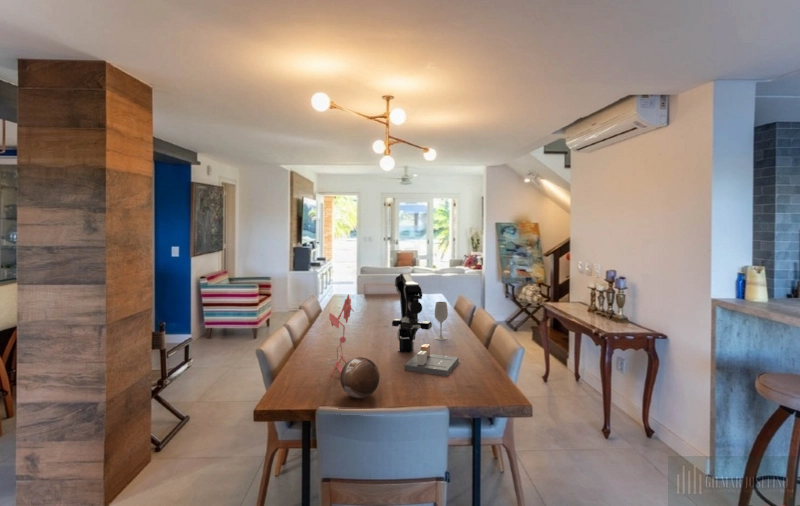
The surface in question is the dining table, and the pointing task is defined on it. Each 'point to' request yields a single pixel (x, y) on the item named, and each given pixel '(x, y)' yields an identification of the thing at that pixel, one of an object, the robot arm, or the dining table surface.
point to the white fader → (421, 357)
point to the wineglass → (441, 316)
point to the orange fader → (426, 348)
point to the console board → (433, 365)
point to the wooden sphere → (359, 377)
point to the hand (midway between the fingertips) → (411, 341)
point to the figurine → (336, 322)
